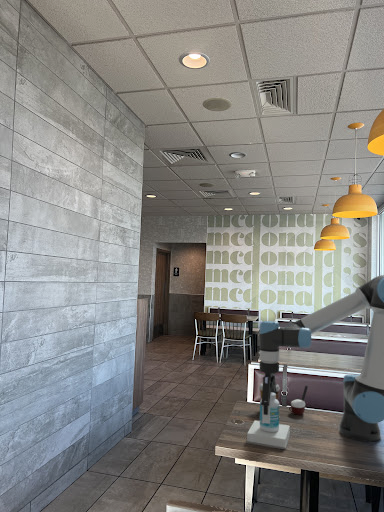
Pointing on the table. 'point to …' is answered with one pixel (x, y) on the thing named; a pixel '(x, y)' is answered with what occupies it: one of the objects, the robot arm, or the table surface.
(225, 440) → the table surface
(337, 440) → the table surface
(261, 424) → the pill bottle
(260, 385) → the disposable coffee cup
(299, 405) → the cocoa
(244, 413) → the table surface
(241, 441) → the table surface
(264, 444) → the block
